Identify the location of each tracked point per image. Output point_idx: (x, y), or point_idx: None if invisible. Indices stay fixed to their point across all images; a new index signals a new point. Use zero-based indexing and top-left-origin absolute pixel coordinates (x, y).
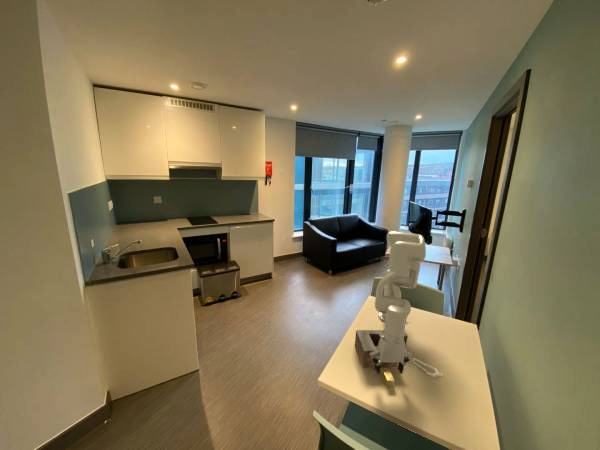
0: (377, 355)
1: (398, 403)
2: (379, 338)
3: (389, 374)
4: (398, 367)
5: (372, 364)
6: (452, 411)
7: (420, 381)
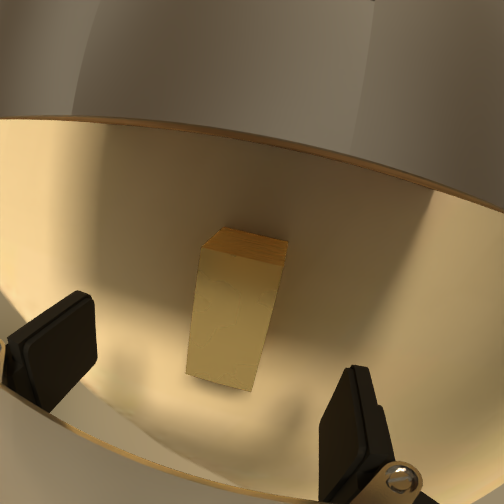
0: (154, 123)
1: (222, 427)
2: None
3: (242, 333)
4: (341, 400)
5: (166, 128)
6: (441, 477)
7: (482, 350)
